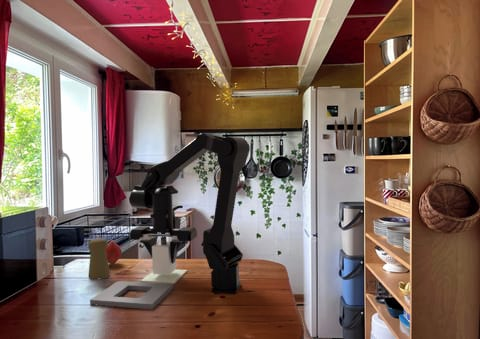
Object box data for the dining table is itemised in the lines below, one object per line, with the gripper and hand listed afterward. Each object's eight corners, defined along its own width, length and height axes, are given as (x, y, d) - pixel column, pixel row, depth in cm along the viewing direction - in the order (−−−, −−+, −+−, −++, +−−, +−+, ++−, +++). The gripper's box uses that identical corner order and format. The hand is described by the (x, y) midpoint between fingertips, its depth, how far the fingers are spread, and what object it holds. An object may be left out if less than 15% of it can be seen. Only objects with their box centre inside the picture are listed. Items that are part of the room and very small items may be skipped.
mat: (187, 271, 101) (187, 269, 101) (174, 283, 91) (174, 282, 91) (156, 269, 103) (156, 268, 103) (140, 281, 93) (140, 280, 93)
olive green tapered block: (113, 272, 102) (112, 236, 101) (103, 279, 96) (102, 241, 95) (95, 271, 102) (93, 236, 102) (83, 279, 96) (82, 241, 96)
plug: (176, 268, 99) (175, 235, 98) (169, 274, 94) (168, 239, 93) (160, 268, 100) (159, 235, 99) (152, 274, 95) (151, 239, 94)
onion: (99, 266, 107) (98, 242, 107) (111, 261, 113) (109, 237, 112) (114, 268, 106) (113, 243, 105) (125, 262, 111) (124, 238, 111)
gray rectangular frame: (173, 288, 88) (173, 283, 88) (152, 309, 76) (152, 304, 76) (118, 285, 91) (118, 280, 91) (90, 304, 79) (90, 299, 79)
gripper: (202, 205, 102) (203, 255, 103) (146, 205, 106) (148, 253, 106) (189, 211, 91) (191, 267, 92) (127, 211, 95) (129, 265, 96)
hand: (164, 262), depth 97 cm, fingers closed on plug, 5 cm apart
